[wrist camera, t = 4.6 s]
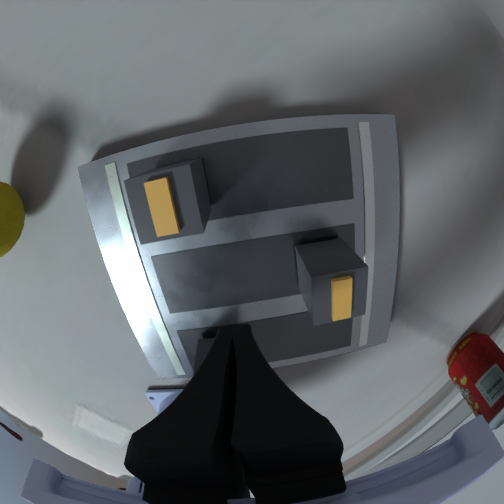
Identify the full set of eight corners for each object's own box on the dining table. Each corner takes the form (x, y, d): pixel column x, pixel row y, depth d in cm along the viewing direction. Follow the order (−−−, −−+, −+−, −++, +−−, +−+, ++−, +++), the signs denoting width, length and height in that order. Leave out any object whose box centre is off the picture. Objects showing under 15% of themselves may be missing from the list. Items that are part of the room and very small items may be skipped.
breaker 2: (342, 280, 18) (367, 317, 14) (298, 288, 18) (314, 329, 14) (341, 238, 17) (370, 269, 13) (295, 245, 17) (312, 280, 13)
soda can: (433, 365, 26) (480, 438, 14) (470, 319, 24) (530, 386, 12) (454, 372, 27) (495, 433, 16) (487, 333, 25) (536, 390, 14)
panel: (379, 331, 22) (386, 342, 21) (161, 367, 23) (157, 379, 21) (383, 115, 15) (395, 114, 14) (88, 163, 16) (76, 167, 14)
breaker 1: (211, 210, 16) (203, 235, 12) (161, 219, 16) (138, 247, 12) (201, 157, 14) (188, 165, 10) (150, 169, 14) (121, 181, 10)
